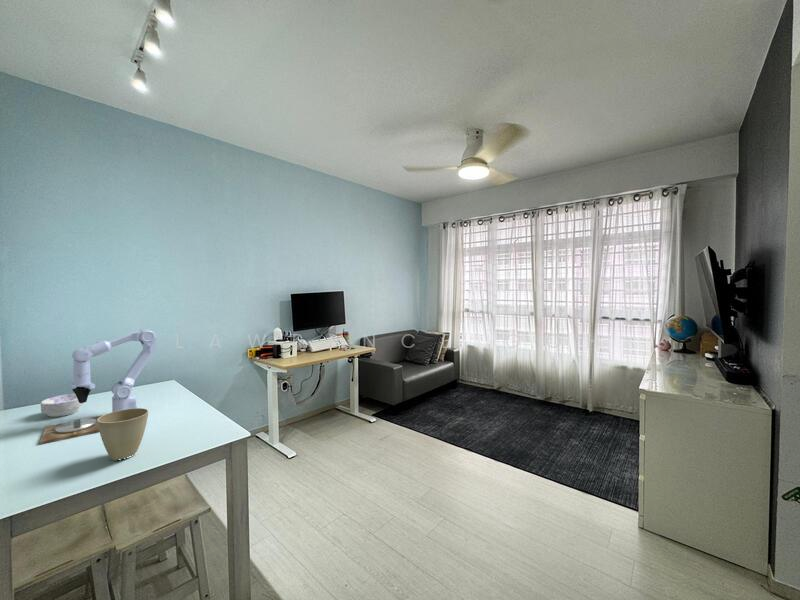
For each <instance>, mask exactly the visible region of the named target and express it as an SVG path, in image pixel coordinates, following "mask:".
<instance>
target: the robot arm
mask: <svg viewBox="0 0 800 600" xmlns="http://www.w3.org/2000/svg"><path fill="white" fill-rule="evenodd" d="M131 341H132V342H140V343H141V346H142V350H141V351H140V353H139V354H138V355H137V357H136V358H135V360H134V361H133V363H132V364H131V365H130V367H129V368H128V370H127V371H126V373H125V374H124V376H123V377H121V378H120V379H119V380H118V382H116V383H114V384H113V386H112V387H111V392H112V394H113V396H112V397H111V401H112V403H111V404H112V405H111V406H112V407H111V408H112V412H115V411H119V410H125V409H133V408H138V405H137V395H136V394H132V389H133V387H134V385H135V381H136V380H137V378H138V376H139V375H140V373H142V371H143V369H144V368H145V367H146V365H147V363H148V362H149V360H150V359H151V357H152V356H153V355H154V353H155V351H156V350H157V336H156V334H155V332H154V331H153V330H150V329H146V328H142V329H140V330H133V331H132V332H129V333H127V334H124V335H122V336H119V337H116V338H114V339H111V340H109V341H107V340H97V341H96V343H92V344H90V345H84V346H83V348H77V349H75V350H74V351H73V352H72V354H71V356H72V358H73V371H72V372H73V381H71V382H70V381H69V387H70V388H72V390H71V391H72V392H73V394H76V396H77V399H78V401H79V403H84V404H85V403H87V402H88V401H87V400H88V397H89V395H90V392H91V391H92V390H93V389H95V388H96V384H95V383H93V382H92V380H91V378H92V377H91V358H94V357H97V356H100V355H103V354H105V353H107V352H110V350H111V349H112V348H113V347H116V346H120V345H123V344H126V343H128V342H131ZM131 394H132V395H131Z"/></svg>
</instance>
